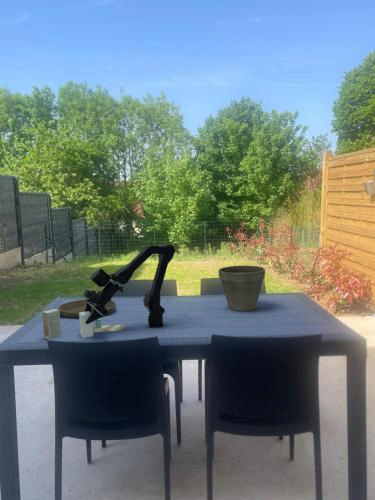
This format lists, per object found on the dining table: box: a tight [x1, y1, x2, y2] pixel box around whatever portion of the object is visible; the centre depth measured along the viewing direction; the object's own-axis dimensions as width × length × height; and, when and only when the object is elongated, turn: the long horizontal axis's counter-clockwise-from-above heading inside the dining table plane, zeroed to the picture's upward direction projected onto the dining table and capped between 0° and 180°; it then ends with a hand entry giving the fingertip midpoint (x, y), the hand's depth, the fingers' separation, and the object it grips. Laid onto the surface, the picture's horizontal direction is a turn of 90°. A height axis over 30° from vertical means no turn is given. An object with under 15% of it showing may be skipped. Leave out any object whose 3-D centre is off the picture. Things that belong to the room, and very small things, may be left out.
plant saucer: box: [57, 298, 117, 319], centre depth 233 cm, size 31×31×5 cm
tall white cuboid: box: [78, 311, 94, 339], centre depth 189 cm, size 4×6×10 cm
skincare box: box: [42, 308, 62, 340], centre depth 188 cm, size 6×4×12 cm
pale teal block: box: [94, 318, 102, 328], centre depth 201 cm, size 2×2×4 cm
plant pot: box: [218, 265, 266, 312], centre depth 231 cm, size 25×25×22 cm
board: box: [93, 324, 126, 333], centre depth 199 cm, size 14×10×1 cm
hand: (83, 321), depth 188 cm, fingers open, 9 cm apart
